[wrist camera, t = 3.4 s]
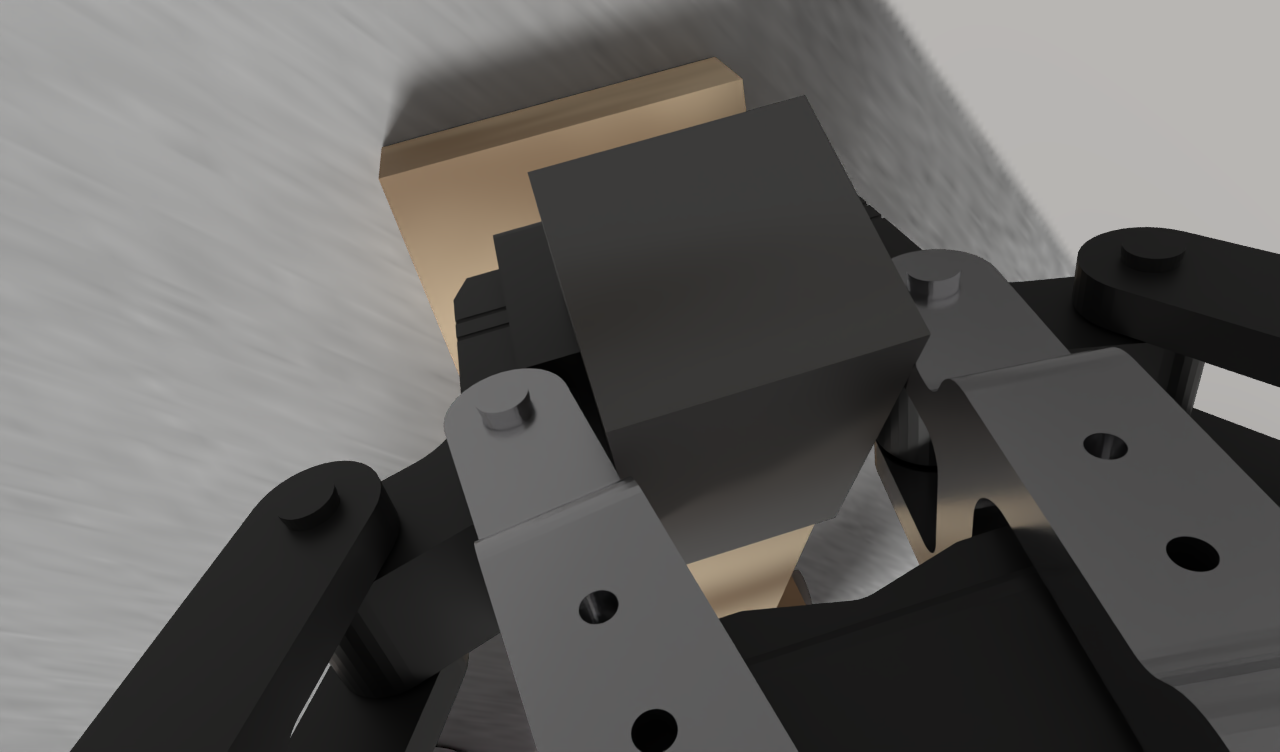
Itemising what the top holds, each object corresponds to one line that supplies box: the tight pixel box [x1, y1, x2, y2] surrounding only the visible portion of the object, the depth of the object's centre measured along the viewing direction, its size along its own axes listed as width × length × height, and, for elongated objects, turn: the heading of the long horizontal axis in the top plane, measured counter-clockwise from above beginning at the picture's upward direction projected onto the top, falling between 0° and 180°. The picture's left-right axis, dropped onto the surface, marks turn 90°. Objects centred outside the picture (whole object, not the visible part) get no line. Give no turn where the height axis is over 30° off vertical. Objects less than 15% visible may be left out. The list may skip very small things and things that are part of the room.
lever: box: [527, 95, 931, 618], centre depth 16 cm, size 20×3×4 cm, turn 11°
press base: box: [379, 57, 812, 608], centre depth 25 cm, size 18×10×11 cm, turn 11°
